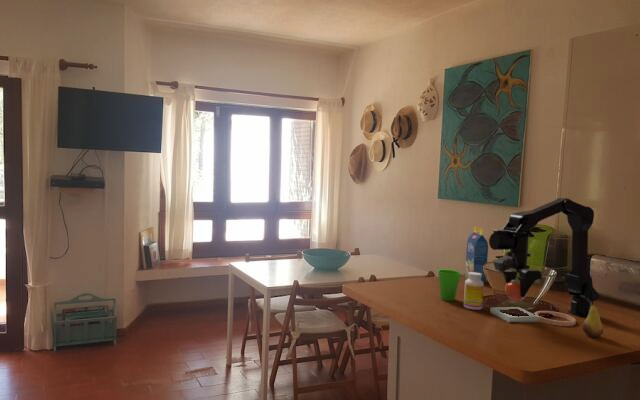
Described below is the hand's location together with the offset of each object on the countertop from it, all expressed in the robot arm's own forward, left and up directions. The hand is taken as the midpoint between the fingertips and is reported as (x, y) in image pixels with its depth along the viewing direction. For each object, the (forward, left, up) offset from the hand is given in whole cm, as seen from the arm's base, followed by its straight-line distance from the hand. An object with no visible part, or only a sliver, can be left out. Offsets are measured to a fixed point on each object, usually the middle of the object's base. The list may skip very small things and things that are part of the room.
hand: (515, 294), depth 167 cm
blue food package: (-17, -56, -8) cm, 59 cm away
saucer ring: (-13, +4, -8) cm, 16 cm away
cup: (+13, -24, -8) cm, 29 cm away
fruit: (-14, +20, -8) cm, 26 cm away
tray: (0, 0, -8) cm, 8 cm away
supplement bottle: (+9, -12, -8) cm, 17 cm away
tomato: (0, 0, -2) cm, 2 cm away
